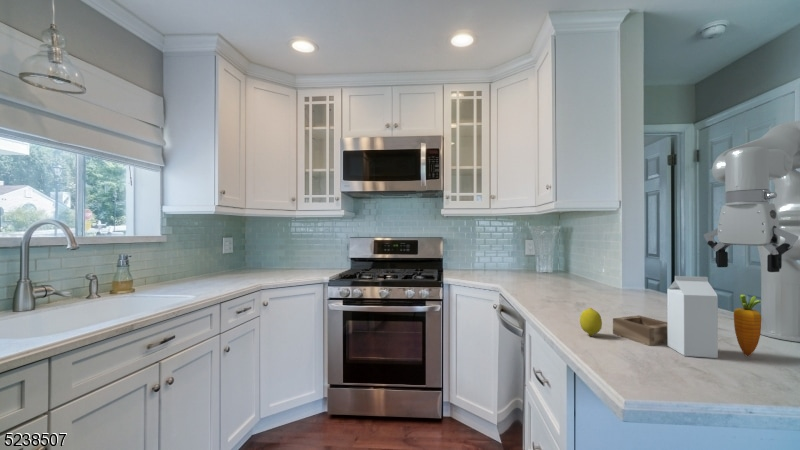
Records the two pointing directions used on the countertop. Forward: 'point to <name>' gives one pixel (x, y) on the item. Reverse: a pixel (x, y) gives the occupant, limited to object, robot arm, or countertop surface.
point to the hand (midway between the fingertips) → (746, 269)
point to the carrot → (747, 325)
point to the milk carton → (692, 317)
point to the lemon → (590, 321)
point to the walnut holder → (641, 329)
